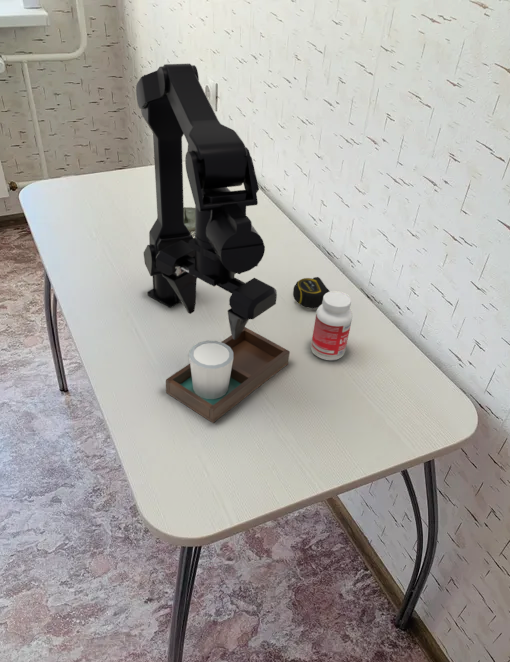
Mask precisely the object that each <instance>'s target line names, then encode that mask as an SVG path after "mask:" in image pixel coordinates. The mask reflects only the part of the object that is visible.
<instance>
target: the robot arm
mask: <svg viewBox="0 0 510 662" xmlns="http://www.w3.org/2000/svg"><path fill="white" fill-rule="evenodd" d="M135 85H136V86H135V90H136V91H135V94H136V95H135V96H136V101H137V106H138V108H139V109H140V111H141V116H142V118H143V119H144V121H145V122H146V124H147V126H148V127H149V129H150V130H151V133H152V140H153V159H154V161H153V162H154V176H155V177H154V179H155V195H156V196H155V197H156V212H157V214H156V215H157V218H156V220H155V221H154V223H153V225H152V227H151V229H150V230H149V233H148V237H149V244H147V245H146V247H145V249H144V251H143V260H144V261H143V262H144V265H145V267H146V269H147V271H148V275H149V276H150V277H152V289H150V290H148V291H147V292H146V293H147V294H146V295H147V296H149V297H150V298H152V299H154V300H156V301H158V302H159V303H161V304H163V305H165V306H166V307H168V308H173V307H175V306H176V305H179V304H180V303H181V304H182V305H183V307H184V309H185V310H186V312H187V313H188V314H189V315H191V314H193V313H194V312H195V310H196V303H197V279H199V280H201V281H202V282H204V283H206V284H208V285H209V286H211V287H219V288H221V289H222V290H225V291H226V292H228V293H230V294H231V295H230V297H229V300H228V305H229V307H230V308H229V309H228V310H227V316H228V322H229V329H230V334H231V335H232V338H233V339H234V340H236V339H237V338H239V336H240V335H241V333H242V331H243V329H244V327H246V325H247V323H248V321H249V320H254V319H256V318H258V317H259V316H260V315H262V314H263V313H265V312H267V311H268V310H270V309H271V308H272V307H274V306H275V305H276V304H277V298H278V297H277V296H278V294H277V288H275V287H274V286H272V285H270V284H267V283H266V282H263V281H262V280H261V279H258V278H256V277H253V278H252V279H249V280H248V281H246V282H244V281H242V280H241V279H239V278H236V277H235V276H236V274H238V275H241V274H243V273H246V272H249V271H251V270H253V269H255V268H256V267H259V263H260V262H261V261H262V260H263V257H264V256H265V251H266V247H265V246H266V245H265V243H264V239H263V238H262V237H261V235H260V234H259V232H258V231H257V229H256V228H255V227H254V226H253V223H252V221H251V219H250V218H249V217H248V216H247V207H251V206H258V204H259V202H258V196H257V195H258V194H257V193H258V192H259V191H260V188H259V183H258V178H257V175H256V171H255V165H254V161H253V158H252V156H251V153H250V150H249V149H248V147H246V145H245V143H244V140H242V139H241V137H240V136H239V134H238V133H237V132H236V131H235V130H234V129H232V128H230V127H228V126H225V125H224V124H222V123H221V122H220V120H219V119H218V116H217V115H216V112H215V110H214V109H213V107H212V105H211V102H210V101H209V99H208V97H207V94H206V92H205V90H204V89H203V87H202V84H201V82H200V77H199V71H198V68H197V66H196V65H195V64H194V65H193V64H191V63H167V64H165V63H164V64H163V66H162V65H161V66H159V67H158V68H157V70H155V71H152V72H150V73H147V74H144V75H142V76H140V78H139V80H138V81H137V83H136V84H135ZM183 137H184V138H185V140H186V142H187V152H186V153H185V160H184V161H185V172H186V176H187V181H188V183H189V187H190V191H191V194H192V198H193V202H194V205H195V206H194V208H195V231H194V236H193V235H192V232H189V230H188V229H187V227H186V226H185V224H184V207H185V206H184V174H183V173H184V171H183V169H184V168H183V166H184V165H183ZM242 185H243V187H244V189H239V190H230V189H229V188H233V187H240V186H241V187H242Z"/></svg>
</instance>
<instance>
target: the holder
mask: <svg viewBox="0 0 510 662" xmlns="http://www.w3.org/2000/svg"><path fill="white" fill-rule="evenodd" d="M221 342H222V343H225V344H226V345H228V346H229V347H230V348H231V349H232V351H233V363H232V369H231V375H230V380H229V386H228V391H227V392H226V394H225V395H223V396H222V397H220V398H216V399H205V398H202V397H200V396H198V395H197V394H196V393H195V391H194V389H193V383H192V375H191V367H190V363H187V365H185V366H184V367H182V368H181V369H179V370H178V371H176V372H175V373H173V374H171V375H170V376H169V377H167V378H166V379H165V393H166V394H167V395H169V396H171V397H172V398H174V399H175V400H177V401H178V402H180V403H181V404H183V405H184V406H186V407H188V408H189V409H190V410H192V411H194V413H197V414H198V415H199V416H201V417H203V418H205V419H206V420H208V421H209V422H210V423H212V424H214V423H215V422H217V420H219V419H220V418H222V417H223V416H224V415H225V414H226V413H228V412H229V411H231V410H232V409H233V408H235V406H237V405H239V403H241V402H242V401H244V399H245V398H247V397H248V396H249V395H251V394H252V393H253V392H254V391H256V390H257V389H258V388H260V387H261V386H262V385H263V384H265V383H266V382H267V381H268V380H269V379H271V378H273V377H274V375H276V374H278V373H279V372H280V371H281V370H282V369H283V368H285V367H286V366H288V365H289V359H290V351H291V350H289V349H287V348H284V347H283V346H281V345H280V344H277V343H275V342H274V341H271V340H270V339H269V338H266V337H265V336H263V335H261V334H259V333H257V332H255V331H254V330H252V329H250V328H247V327H246V326H245V327H244V329H243V331H242V333H241V335H240V336H239V338H237V339H236V340H234V339H233V338H232V334H231V335H229V336H228V337H226V338H225V339H223V340H222V341H221Z"/></svg>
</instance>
